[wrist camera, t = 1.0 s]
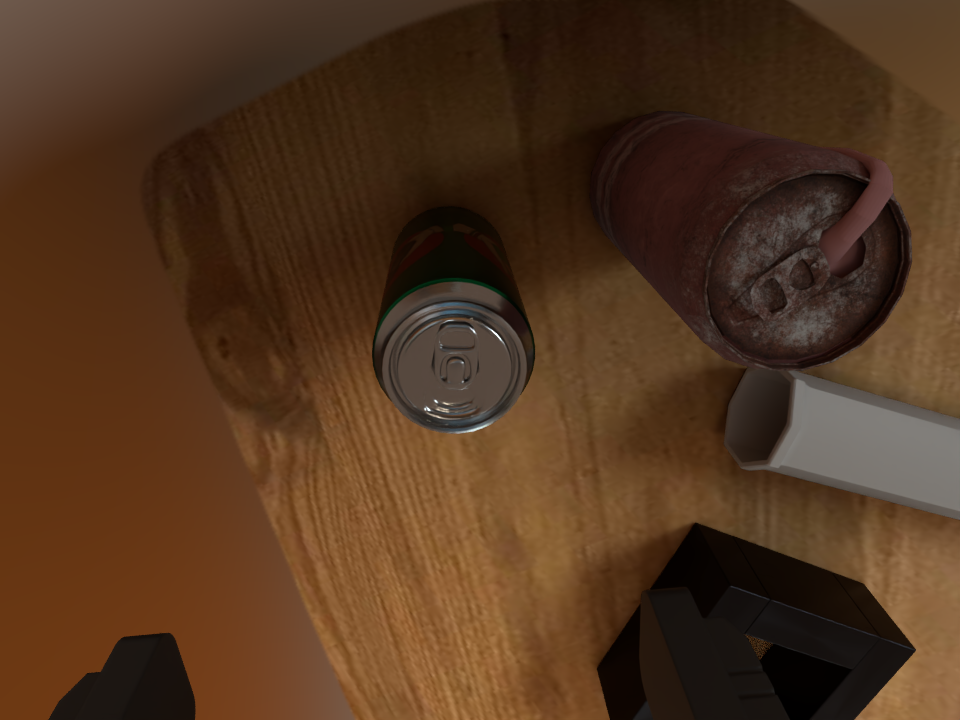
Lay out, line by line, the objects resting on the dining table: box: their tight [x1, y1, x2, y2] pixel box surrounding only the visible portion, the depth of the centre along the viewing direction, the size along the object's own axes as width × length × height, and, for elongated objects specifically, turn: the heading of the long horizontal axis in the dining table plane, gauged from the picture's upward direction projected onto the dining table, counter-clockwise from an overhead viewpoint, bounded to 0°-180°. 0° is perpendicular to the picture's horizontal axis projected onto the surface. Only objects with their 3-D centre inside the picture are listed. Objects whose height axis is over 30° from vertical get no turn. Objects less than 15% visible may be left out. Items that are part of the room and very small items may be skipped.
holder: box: [597, 523, 916, 720], centre depth 40 cm, size 12×12×5 cm
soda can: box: [372, 206, 535, 434], centre depth 26 cm, size 5×5×12 cm
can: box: [590, 111, 912, 371], centre depth 24 cm, size 6×6×14 cm
